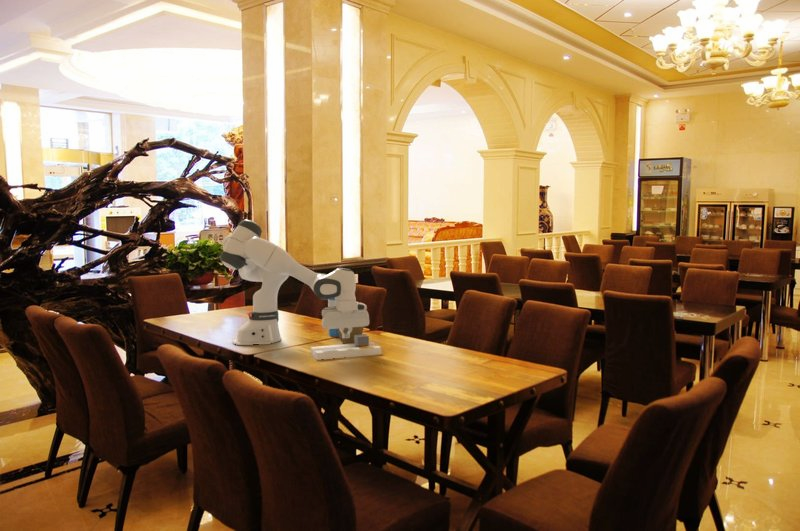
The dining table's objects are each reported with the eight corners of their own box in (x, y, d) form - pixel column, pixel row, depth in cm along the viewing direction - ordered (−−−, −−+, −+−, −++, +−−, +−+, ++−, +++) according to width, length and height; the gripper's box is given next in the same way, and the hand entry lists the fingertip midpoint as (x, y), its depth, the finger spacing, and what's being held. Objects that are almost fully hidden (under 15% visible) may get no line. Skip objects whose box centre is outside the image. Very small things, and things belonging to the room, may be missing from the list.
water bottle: (349, 333, 311) (348, 283, 308) (345, 337, 301) (344, 285, 299) (330, 332, 312) (329, 283, 309) (326, 336, 302) (325, 285, 300)
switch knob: (357, 350, 265) (357, 337, 264) (354, 347, 269) (354, 334, 269) (368, 349, 266) (368, 336, 266) (365, 346, 271) (365, 334, 271)
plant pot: (363, 340, 294) (363, 306, 292) (369, 346, 279) (368, 311, 278) (332, 341, 291) (331, 307, 289) (336, 348, 276) (335, 313, 275)
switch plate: (316, 360, 255) (316, 352, 255) (310, 353, 267) (310, 346, 266) (381, 354, 265) (381, 346, 265) (372, 348, 276) (372, 341, 276)
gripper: (323, 308, 258) (323, 341, 259) (370, 305, 265) (370, 337, 266) (319, 306, 264) (320, 338, 265) (365, 303, 271) (366, 334, 272)
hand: (346, 337), depth 265 cm, fingers closed
